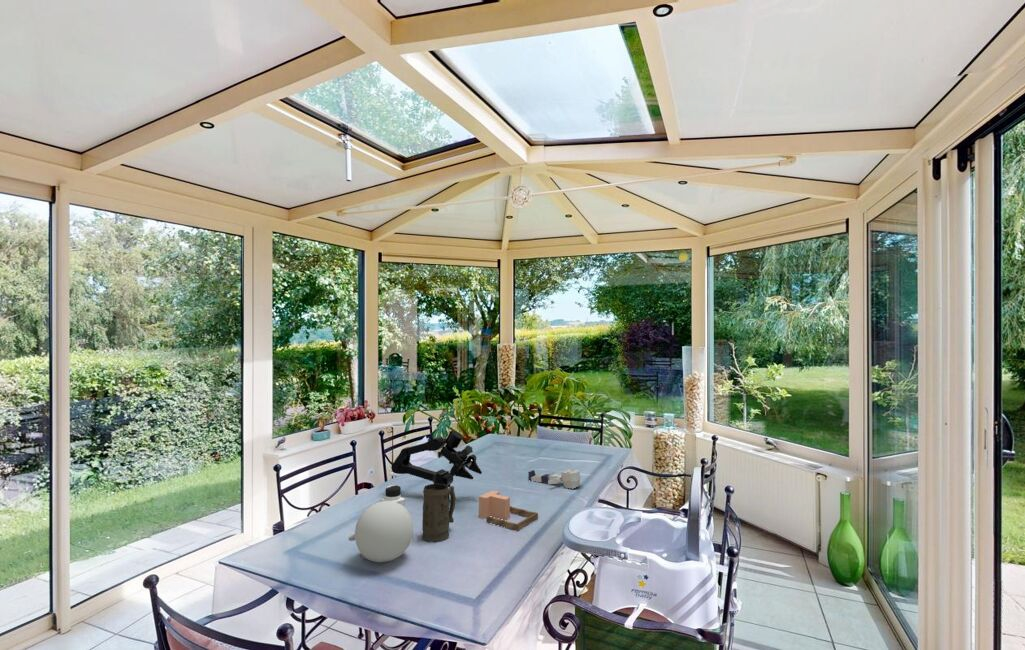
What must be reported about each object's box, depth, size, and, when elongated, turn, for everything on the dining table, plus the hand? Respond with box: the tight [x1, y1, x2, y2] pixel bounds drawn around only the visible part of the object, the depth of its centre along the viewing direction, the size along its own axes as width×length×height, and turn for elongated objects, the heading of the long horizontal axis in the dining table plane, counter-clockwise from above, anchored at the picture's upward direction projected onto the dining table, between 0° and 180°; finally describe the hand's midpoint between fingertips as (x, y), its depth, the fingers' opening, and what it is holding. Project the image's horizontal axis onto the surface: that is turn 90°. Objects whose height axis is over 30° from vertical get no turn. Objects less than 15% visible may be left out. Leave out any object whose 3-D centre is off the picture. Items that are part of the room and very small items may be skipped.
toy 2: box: [347, 501, 414, 563], centre depth 164 cm, size 20×20×20 cm
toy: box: [527, 468, 581, 490], centre depth 250 cm, size 21×9×30 cm
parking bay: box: [485, 505, 539, 532], centre depth 199 cm, size 16×16×2 cm
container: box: [380, 484, 406, 508], centre depth 204 cm, size 8×8×13 cm
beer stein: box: [421, 483, 457, 542], centre depth 185 cm, size 15×11×20 cm
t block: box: [478, 490, 511, 521], centre depth 204 cm, size 12×10×9 cm
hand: (477, 475), depth 216 cm, fingers open, 9 cm apart
